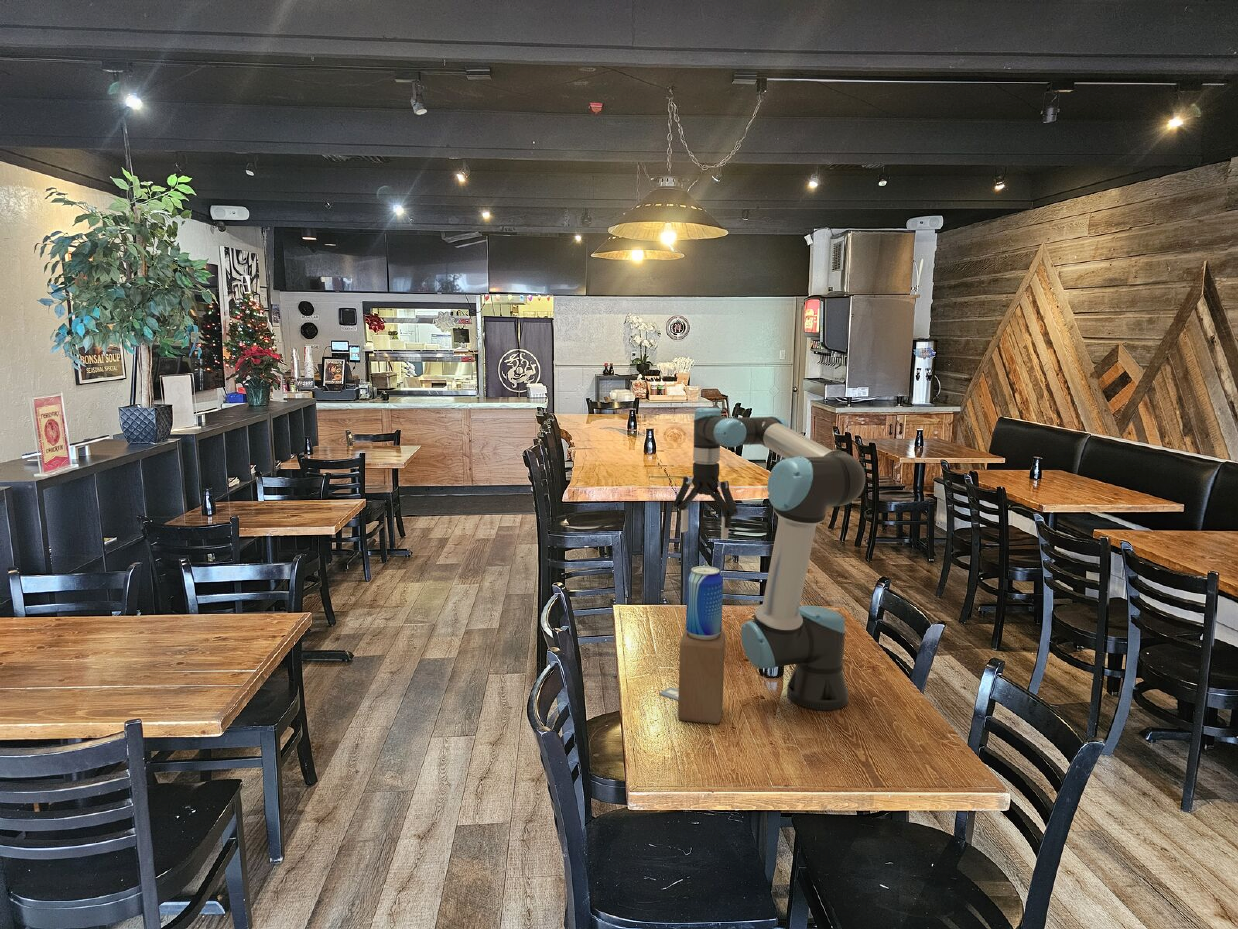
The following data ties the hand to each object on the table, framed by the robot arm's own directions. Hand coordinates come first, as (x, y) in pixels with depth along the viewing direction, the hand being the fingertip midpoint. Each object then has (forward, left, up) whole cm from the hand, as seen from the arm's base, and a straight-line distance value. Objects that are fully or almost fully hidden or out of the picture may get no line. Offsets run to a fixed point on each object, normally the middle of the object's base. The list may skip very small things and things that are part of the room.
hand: (704, 535), depth 223 cm
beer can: (-22, +35, -15) cm, 44 cm away
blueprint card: (-12, +30, -35) cm, 47 cm away
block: (-22, +35, -35) cm, 54 cm away
